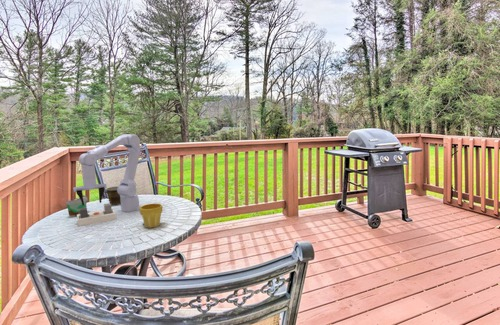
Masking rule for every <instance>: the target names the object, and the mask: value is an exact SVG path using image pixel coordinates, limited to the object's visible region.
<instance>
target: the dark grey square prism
mask: <svg viewBox="0 0 500 325" xmlns="http://www.w3.org/2000/svg"><path fill="white" fill-rule="evenodd" d="M87 213H88V208H87V207H84V208H80V216H81V218H86V217H88V214H87Z"/></svg>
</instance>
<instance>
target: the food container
mask: <svg viewBox="0 0 500 325" xmlns="http://www.w3.org/2000/svg"><path fill="white" fill-rule="evenodd" d="M83 201H84V205H82V202H81V199H80V198H79V197H77V198H73V199H72V200H66V201H65V205H66V208H67V210H68V216H69V217H71V218H72V217H77V215H78V214H80V208H84V207H87V202H88V201H89V199H88V197H87V195H85V194H84V195H83Z"/></svg>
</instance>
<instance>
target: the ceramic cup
mask: <svg viewBox="0 0 500 325" xmlns="http://www.w3.org/2000/svg"><path fill="white" fill-rule="evenodd" d="M117 188H118V186H111V187H107V188H105V190H104V193H106V196H105V195H104V194H103V195H102V197H104V198H106V199H107V200H108V202H109V203H110V204H111V206H119V205H121V200H120V194H118V192H117Z"/></svg>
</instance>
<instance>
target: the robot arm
mask: <svg viewBox="0 0 500 325" xmlns="http://www.w3.org/2000/svg"><path fill="white" fill-rule="evenodd" d="M140 143H141V139H140V138H139V136H138V135H137V134H135V133H133V134H132V133H131V134H130V133H129V134H128V133H127V134H126V133H123V134H121V135H118V136H117V137H116V138H114V139H113V140H111V141H109V142H108V143H106V144H105V145H102V144H101V145H100V144H99V145H98V144H97V145H96V146H95V148H93V149H91V150H87V151H86V152H85V153H82V154H80V156H78V157H79V158H78V160H77V161H78V163H79V164H80V165H81V174H82V182H83V183H82V184H83V185H80V186H75V187H72V189H73V193H76V194H77V196H78V198H80V199H81V202H82V205H84V201H83V191H84V192H85V191H91V190H97V189H98V202H99V204H100V203H102V198H103V195H104V193H105V192H104V191H106V189H107V188H108V187H107V183H97V177H96V175H97V174H96V169H95V168H96V166H95V164H96V163H97V161H99V160H100V159H102V158H104V157H105V156H107V155H108V152H109V151H111V150H113V149H116V148H117V147H118V146H120V145H121V146H123V147H125V148H126V149H127V150H128V152H129V153H128V158H127V162H126V167H125V171H124V176H123V179H121V181H120V183H119V185H118V186H117V187H118V188H117V192H118V194H120V200H121V204H120V207H121V208H120V209H121V212H122V213H131V212H134V211H140V199H139V196H138V195H137V184H136V182H135V176H136V174H137V169H138V163H139V158H140V154H141V144H140Z"/></svg>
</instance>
